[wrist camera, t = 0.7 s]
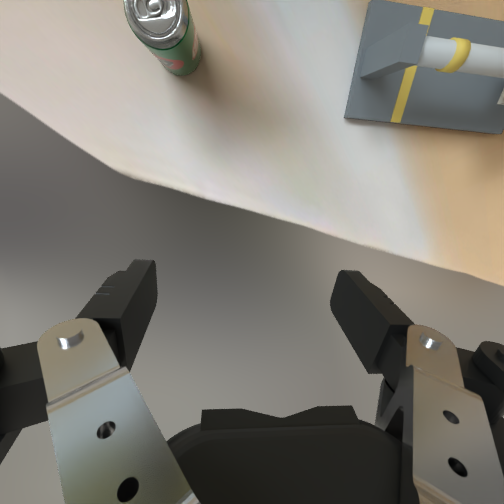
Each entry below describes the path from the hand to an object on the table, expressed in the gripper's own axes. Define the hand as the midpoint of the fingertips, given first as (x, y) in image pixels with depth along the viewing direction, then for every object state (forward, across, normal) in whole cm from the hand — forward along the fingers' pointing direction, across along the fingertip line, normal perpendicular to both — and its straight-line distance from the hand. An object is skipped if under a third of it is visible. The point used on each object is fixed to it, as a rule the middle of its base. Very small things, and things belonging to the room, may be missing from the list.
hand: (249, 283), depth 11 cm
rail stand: (+29, -27, -16) cm, 42 cm away
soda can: (+29, +7, -14) cm, 33 cm away
